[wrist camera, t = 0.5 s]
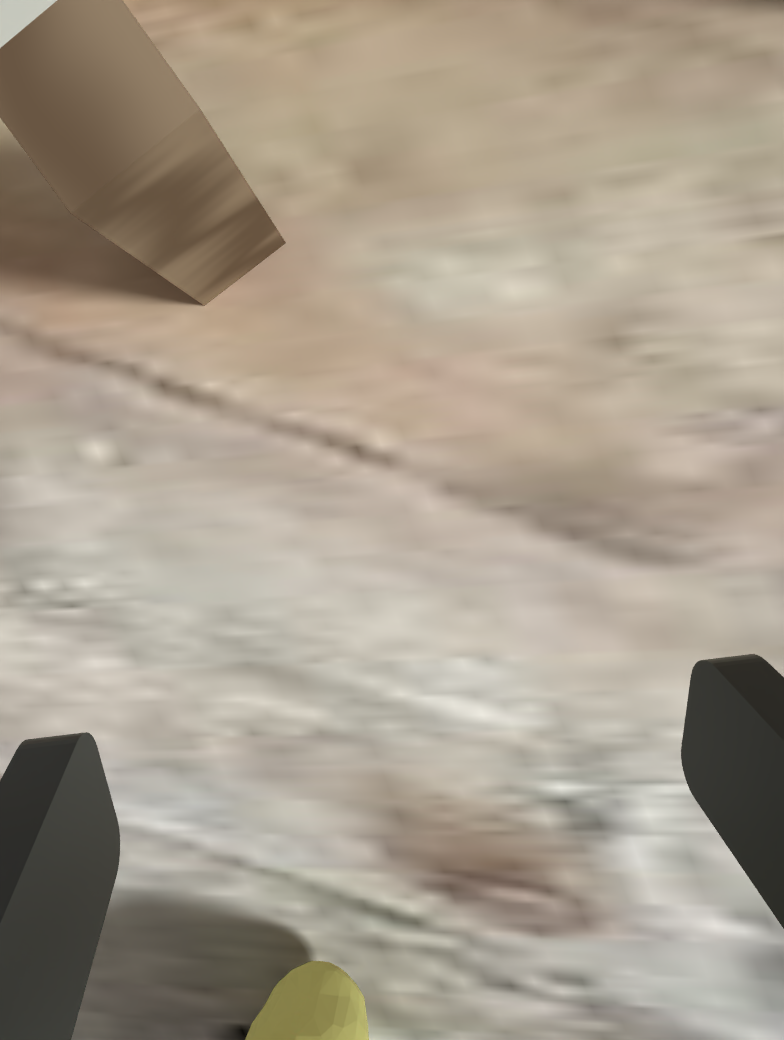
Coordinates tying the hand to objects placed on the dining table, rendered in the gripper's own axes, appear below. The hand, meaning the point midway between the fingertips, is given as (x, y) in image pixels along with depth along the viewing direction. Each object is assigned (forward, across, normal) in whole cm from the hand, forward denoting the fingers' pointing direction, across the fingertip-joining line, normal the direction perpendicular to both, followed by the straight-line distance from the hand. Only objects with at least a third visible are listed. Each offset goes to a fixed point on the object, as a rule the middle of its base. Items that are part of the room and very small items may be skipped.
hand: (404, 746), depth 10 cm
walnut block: (+27, +4, -6) cm, 28 cm away
